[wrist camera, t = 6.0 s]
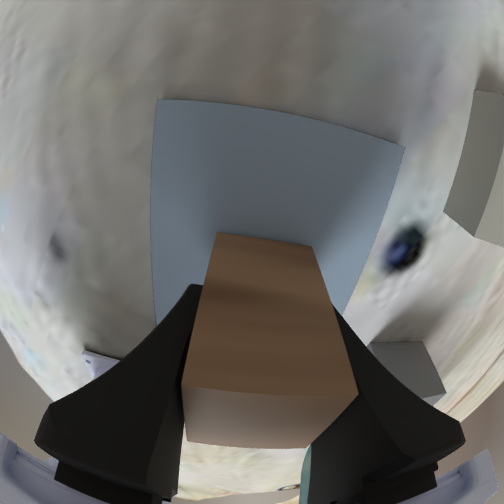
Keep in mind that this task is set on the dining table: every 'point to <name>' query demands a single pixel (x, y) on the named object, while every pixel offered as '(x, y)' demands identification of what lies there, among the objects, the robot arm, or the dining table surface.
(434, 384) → the grey cube
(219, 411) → the tall walnut block
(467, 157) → the pale grey block
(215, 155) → the slate mat
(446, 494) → the robot arm
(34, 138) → the dining table surface
